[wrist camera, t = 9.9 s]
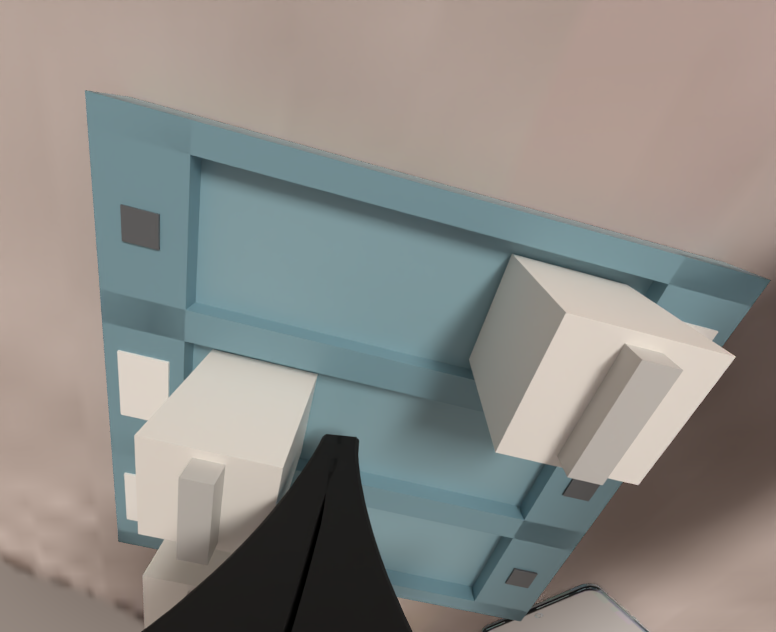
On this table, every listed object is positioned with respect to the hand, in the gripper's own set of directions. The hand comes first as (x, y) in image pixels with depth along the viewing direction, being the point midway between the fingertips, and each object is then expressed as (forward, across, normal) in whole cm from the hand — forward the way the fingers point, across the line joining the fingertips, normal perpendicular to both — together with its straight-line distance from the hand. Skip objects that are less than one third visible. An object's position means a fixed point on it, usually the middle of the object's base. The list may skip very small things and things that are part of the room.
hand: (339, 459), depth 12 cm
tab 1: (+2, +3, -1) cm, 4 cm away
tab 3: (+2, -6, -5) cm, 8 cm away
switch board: (+3, -1, 0) cm, 3 cm away
